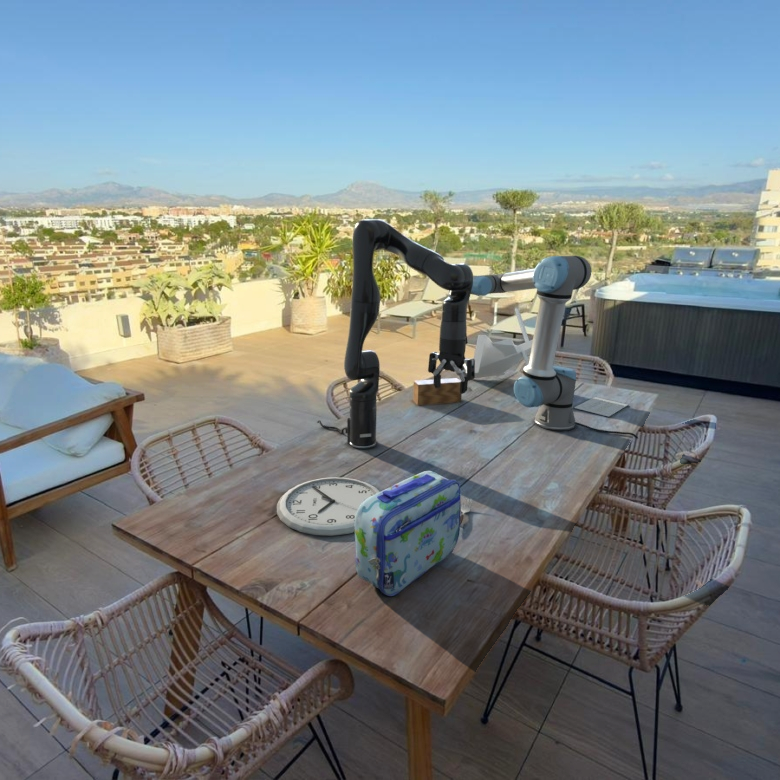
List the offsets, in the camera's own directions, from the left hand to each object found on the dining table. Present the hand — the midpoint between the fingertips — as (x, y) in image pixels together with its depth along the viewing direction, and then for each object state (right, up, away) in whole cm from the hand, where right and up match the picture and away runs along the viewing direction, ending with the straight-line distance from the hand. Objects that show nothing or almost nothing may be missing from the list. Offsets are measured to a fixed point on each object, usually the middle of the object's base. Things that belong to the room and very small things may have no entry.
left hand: (450, 390), depth 154 cm
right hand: (+10, +15, +72) cm, 74 cm away
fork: (+1, -34, -16) cm, 38 cm away
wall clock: (-33, -31, -11) cm, 47 cm away
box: (+3, -5, +76) cm, 76 cm away
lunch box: (-13, -40, -37) cm, 56 cm away
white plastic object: (+37, +2, +101) cm, 107 cm away
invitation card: (+74, -7, +73) cm, 104 cm away
